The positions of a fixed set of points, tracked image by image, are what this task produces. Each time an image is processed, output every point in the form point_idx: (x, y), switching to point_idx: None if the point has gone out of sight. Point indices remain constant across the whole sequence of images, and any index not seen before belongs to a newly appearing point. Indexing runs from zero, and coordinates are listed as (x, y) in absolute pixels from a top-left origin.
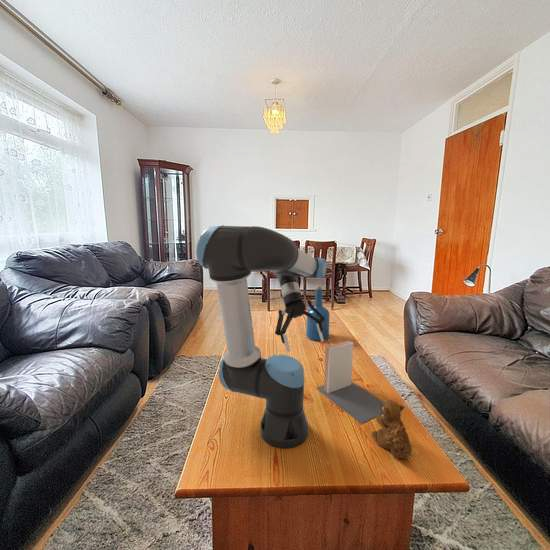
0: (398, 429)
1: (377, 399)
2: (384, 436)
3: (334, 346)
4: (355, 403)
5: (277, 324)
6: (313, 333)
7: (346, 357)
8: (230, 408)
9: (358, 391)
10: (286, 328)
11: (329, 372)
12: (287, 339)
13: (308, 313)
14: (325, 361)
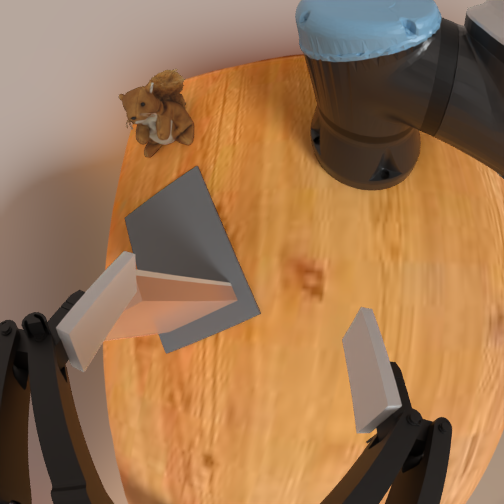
0: (158, 73)
1: (135, 248)
2: (178, 108)
3: None
4: (180, 233)
5: (439, 490)
6: None
7: None
8: (493, 225)
9: None
10: (355, 469)
11: (195, 279)
12: (354, 400)
13: (48, 458)
14: (185, 298)
